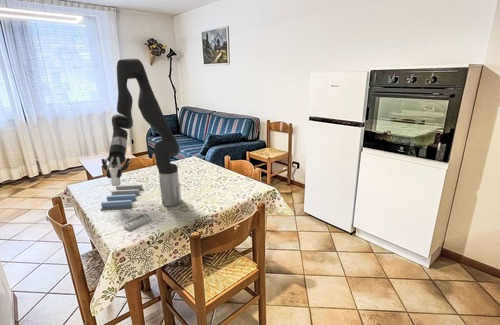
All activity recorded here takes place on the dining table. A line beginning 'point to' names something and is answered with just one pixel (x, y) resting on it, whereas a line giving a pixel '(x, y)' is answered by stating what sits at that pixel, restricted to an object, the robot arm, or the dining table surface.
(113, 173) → the white bottle with cap
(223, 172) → the dining table surface
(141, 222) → the multiport hub
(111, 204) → the grey blue ridged block
